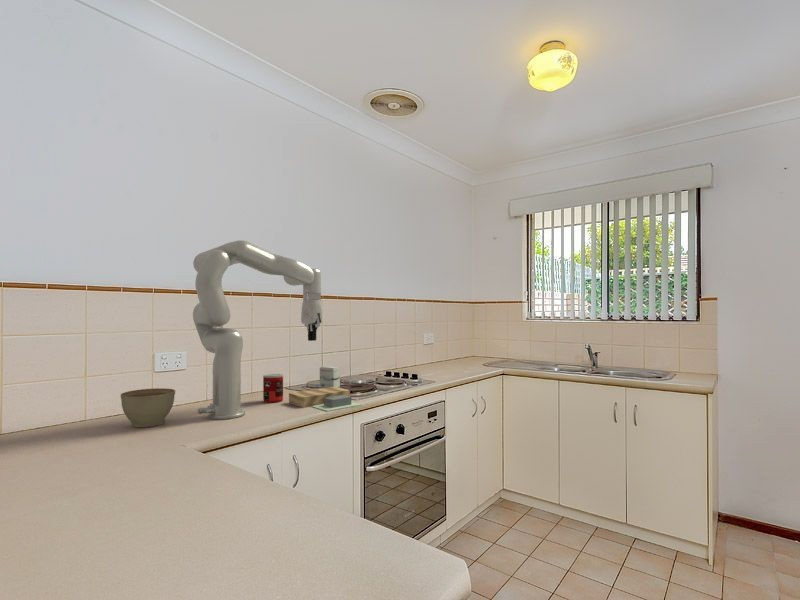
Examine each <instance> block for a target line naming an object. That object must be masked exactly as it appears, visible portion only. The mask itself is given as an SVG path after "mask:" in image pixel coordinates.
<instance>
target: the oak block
mask: <svg viewBox="0 0 800 600" xmlns="http://www.w3.org/2000/svg"><path fill="white" fill-rule="evenodd" d="M339 395H346V396H350V397H351V390H349V389H346V388H342V387H340V388H337V387H329V388H322V389H320V388H316V389H311V390H310V389H309V390H303V391H295V392H290V393H288V404H291V405H293V406H297V407H301V408H309V407H310V408H311V407H312V406H316V405H321V404H324V398H326V397H332V396H339Z"/></svg>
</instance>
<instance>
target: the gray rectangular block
mask: <svg viewBox="0 0 800 600" xmlns="http://www.w3.org/2000/svg"><path fill="white" fill-rule="evenodd" d="M351 402H352V396H351V395H350V396H346V395H339V396H332V397H326V398H324V406H328V407H331V408H334V407H340V406H345V405H351Z"/></svg>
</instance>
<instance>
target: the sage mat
mask: <svg viewBox="0 0 800 600" xmlns="http://www.w3.org/2000/svg"><path fill="white" fill-rule="evenodd" d="M358 406H359V407H360V406H362V404H361V403H358V402H354V401H351V405H345V406H340V407H334V408H331V407H328V406H324V404H321V405H316V406H311V407H312V408H314V409H318V410H321V411H325V412H332V411H339V410H343V409H348V408H353V407H358Z"/></svg>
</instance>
